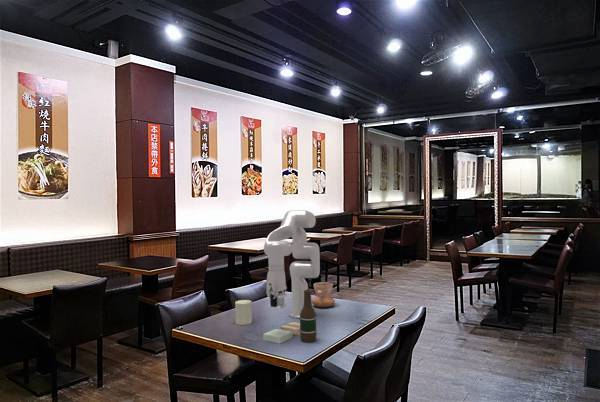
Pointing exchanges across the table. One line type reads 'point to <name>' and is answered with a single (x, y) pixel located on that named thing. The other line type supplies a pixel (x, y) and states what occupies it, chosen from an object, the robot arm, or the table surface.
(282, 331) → the stand
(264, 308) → the table surface
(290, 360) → the table surface
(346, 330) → the table surface
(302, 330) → the beer bottle
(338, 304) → the table surface
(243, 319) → the can
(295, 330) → the stand
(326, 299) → the ceramic jug
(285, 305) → the housing
